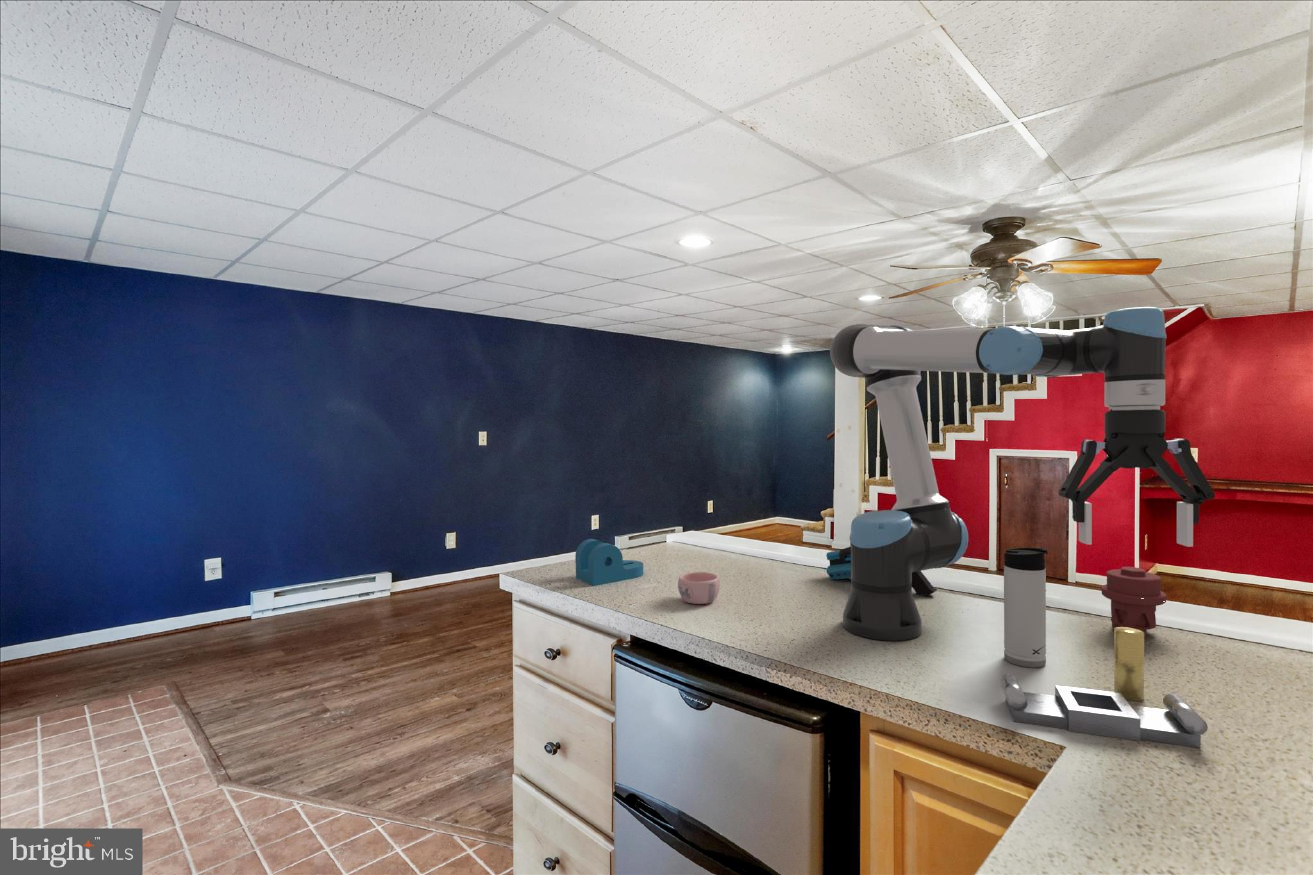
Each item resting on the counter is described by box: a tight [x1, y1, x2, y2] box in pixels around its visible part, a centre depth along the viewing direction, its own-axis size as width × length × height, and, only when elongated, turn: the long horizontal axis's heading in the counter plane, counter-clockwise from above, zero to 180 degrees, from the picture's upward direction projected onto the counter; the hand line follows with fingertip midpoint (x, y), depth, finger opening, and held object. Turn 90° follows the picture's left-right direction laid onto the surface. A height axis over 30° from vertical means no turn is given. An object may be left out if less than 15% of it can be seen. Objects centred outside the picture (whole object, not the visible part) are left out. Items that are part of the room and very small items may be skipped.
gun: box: [825, 546, 938, 596], centre depth 157 cm, size 8×26×15 cm, turn 43°
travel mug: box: [1003, 547, 1049, 669], centre depth 107 cm, size 6×7×20 cm
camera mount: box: [574, 538, 644, 587], centre depth 171 cm, size 18×10×10 cm, turn 124°
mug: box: [677, 571, 721, 605], centre depth 148 cm, size 12×10×6 cm
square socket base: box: [1000, 673, 1208, 749], centre depth 86 cm, size 22×8×4 cm, turn 68°
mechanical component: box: [1101, 566, 1167, 638], centre depth 121 cm, size 12×10×10 cm
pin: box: [1113, 627, 1145, 702], centre depth 94 cm, size 4×4×10 cm
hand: (1134, 544), depth 97 cm, fingers open, 13 cm apart
